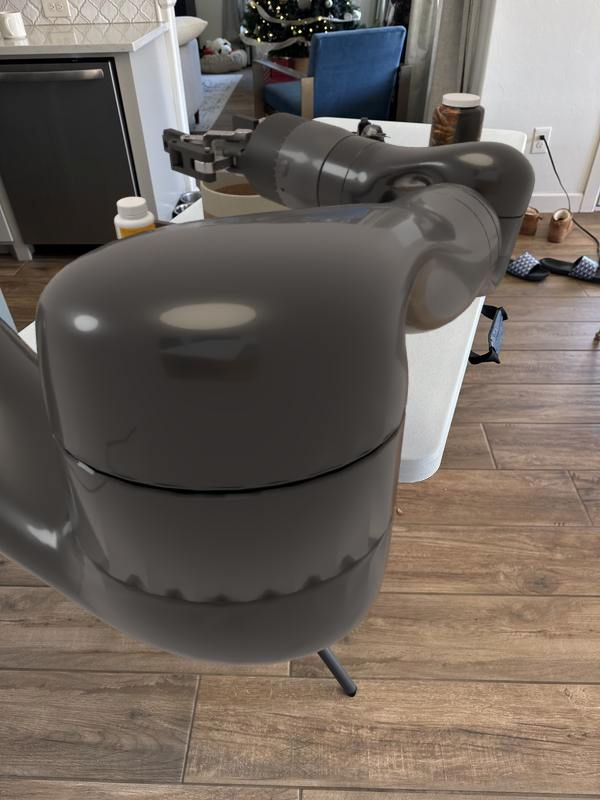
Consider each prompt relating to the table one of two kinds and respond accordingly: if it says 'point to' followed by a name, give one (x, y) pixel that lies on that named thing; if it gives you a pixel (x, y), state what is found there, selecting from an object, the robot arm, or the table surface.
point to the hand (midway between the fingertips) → (202, 132)
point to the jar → (457, 120)
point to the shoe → (370, 130)
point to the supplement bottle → (133, 217)
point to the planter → (233, 197)
